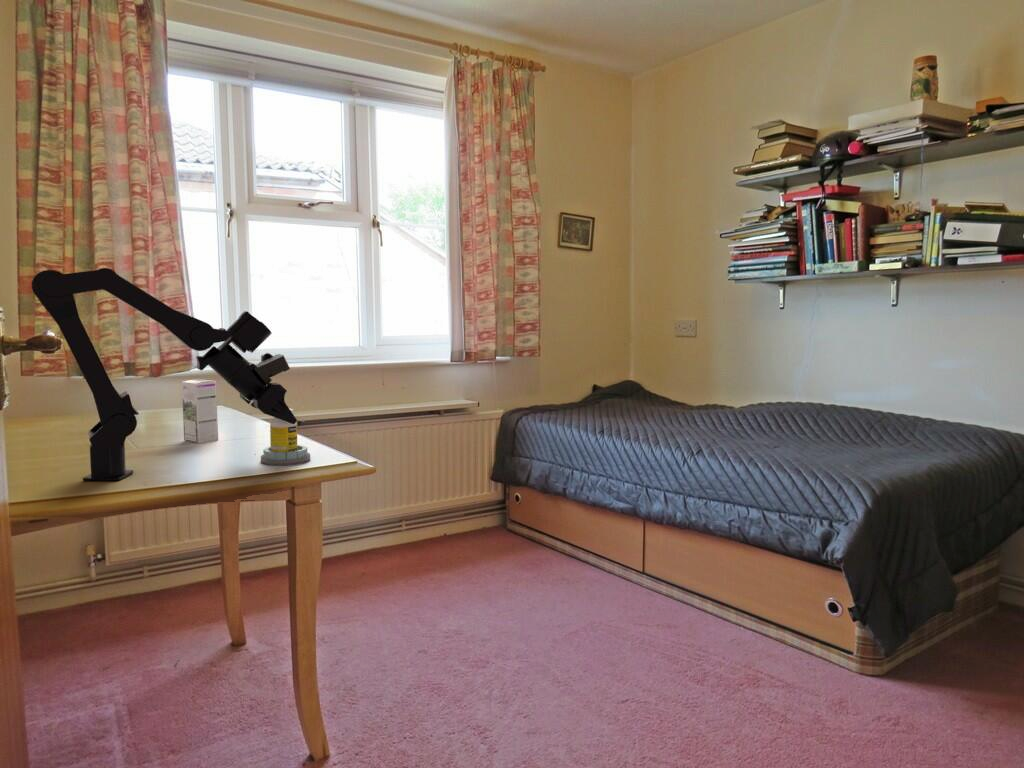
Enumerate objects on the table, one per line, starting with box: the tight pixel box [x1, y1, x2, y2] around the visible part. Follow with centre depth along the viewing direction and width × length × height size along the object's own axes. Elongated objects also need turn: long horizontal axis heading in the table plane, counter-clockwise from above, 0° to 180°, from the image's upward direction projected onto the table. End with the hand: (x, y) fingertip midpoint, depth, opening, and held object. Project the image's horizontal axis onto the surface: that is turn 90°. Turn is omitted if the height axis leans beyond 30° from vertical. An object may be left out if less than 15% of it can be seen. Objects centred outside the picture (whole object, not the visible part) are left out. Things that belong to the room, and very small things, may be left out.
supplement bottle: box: [269, 407, 298, 452], centre depth 150 cm, size 5×5×10 cm
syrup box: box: [181, 379, 219, 444], centre depth 170 cm, size 6×6×14 cm
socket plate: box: [260, 444, 311, 466], centre depth 151 cm, size 10×10×2 cm
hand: (291, 420), depth 151 cm, fingers open, 6 cm apart
